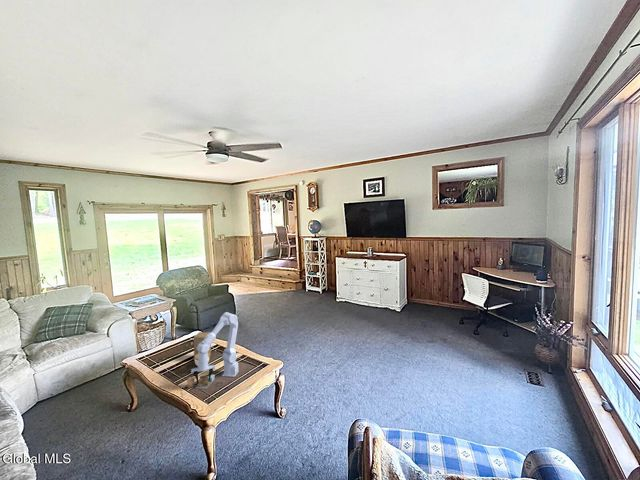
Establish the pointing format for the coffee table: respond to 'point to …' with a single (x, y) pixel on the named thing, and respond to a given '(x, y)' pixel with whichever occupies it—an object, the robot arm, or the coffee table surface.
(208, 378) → the blue plastic box
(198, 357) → the lidded jar
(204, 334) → the wooden block
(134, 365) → the coffee table surface
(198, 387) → the slate coaster
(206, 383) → the walnut block
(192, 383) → the tan rounded cylinder
